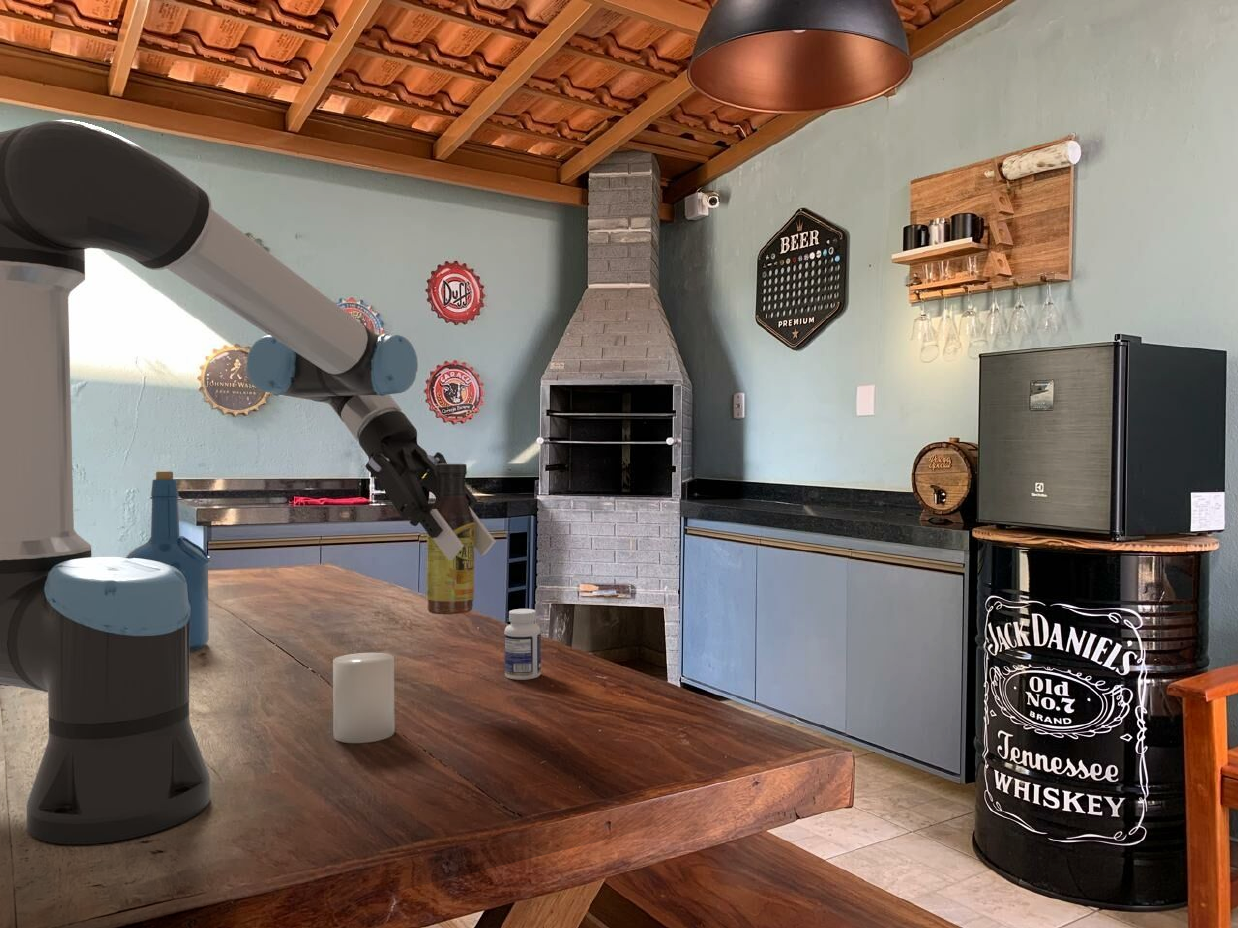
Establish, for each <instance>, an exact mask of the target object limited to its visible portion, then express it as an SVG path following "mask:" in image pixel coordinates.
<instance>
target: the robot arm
mask: <svg viewBox="0 0 1238 928" xmlns="http://www.w3.org/2000/svg"><path fill="white" fill-rule="evenodd" d="M212 206H213V205H212V201H211V198H210V196H209V193H208V192H206V191H205V190H204V189H203V188H201V187H200V186H199V185H197V184H196V183H195V182H194V181H193V180H191V179H190V178H189V177H187V175H185V174H183V173H182V172H181V171H179V170H178V169H176V168H175V167H174V166H172V165H171V164H169V163H167V162H166V161H164V160H163V159H161V158H160V157H159V156H157V155H156V154H153V153H152V152H150V151H148V150H147V149H145V148H143V147H142V146H140V145H138V144H137V143H134V142H132V141H130V140H128V139H126V138H125V137H122V136H121V135H118V134H115V133H114V132H111V131H109V130H106V129H104V128H102V127H99V126H95V125H93V124H88V123H85V122H83V121H81V122H80V121H75V120H69V119H56V120H54V119H53V120H51V119H50V120H44V121H39V122H36V123H33V124H30V125H27V126H22V127H17V128H12V129H8V130H4V131H0V686H4V687H14V688H15V687H16V688H20V689H21V688H23V689H28V690H33V691H34V690H35V691H40V692H47V697H48V699H47V701H48V706H47V707H48V708H47V709H48V710H47V711H48V714H47V715H48V739H47V744H46V747H45V750H44V751H43V752H44V753H43V755H42V758H41V762H40V764H39V768H38V770H37V773H36V776H35V779H34V782H33V783H32V788H31V790H30V793H29V796H28V798H27V803H26V830H27V832H28V834H29V835H30V836H32V837H33V838H34V839H37V840H39V841H42V842H47V843H52V844H59V845H90V844H91V845H92V844H102V843H105V844H106V843H112V842H118V841H124V840H130V839H135V838H138V837H143V836H146V835H151V834H154V833H158V832H160V831H164V830H166V829H170V828H172V827H175V826H177V825H179V824H182V823H184V822H186V821H188V820H190V819H191V818H194V817H195V816H197V814H199V813H200V812H202V811H203V810H204V809H205V808H206V807H207V806H208V804H209V802H210V800H211V781H210V775H209V774H210V772H209V770H208V768H207V765H206V762H205V759H204V757H203V755H202V752H201V748H200V746H199V744H198V742H197V741H198V740H197V738H196V736H195V733H194V730H193V728H192V725H191V722H190V721H191V720H190V657H191V656H190V654H191V653H190V652H191V651H190V612H191V608H190V605H189V602H188V593H187V583H186V579H185V577H184V576H183V574H182V573H181V572H180V571H179V570H178V569H176V568H175V567H173V566H171V565H168V564H165V563H162V562H158V561H153V560H147V559H140V558H130V559H129V558H126V557H121V556H96V557H95V556H94V557H93V556H92V544H90V543H89V542H87V541H86V540H85V539H84V538H83V537H82V536H80V534H78V533H77V531H76V530H75V527H74V526H75V525H74V487H73V485H74V484H73V477H74V476H73V446H72V445H73V440H72V437H73V436H72V406H71V404H72V401H71V400H72V399H71V397H72V395H71V393H72V392H71V363H70V362H71V357H70V321H69V320H70V319H69V311H70V310H69V297H70V295H71V292H72V291H74V289H76V288H77V287H78V286H79V285H81V284H82V283H83V282H84V281H85V280H86V267H85V266H86V252H85V250H87V249H100V250H106V251H110V252H114V253H118V254H121V255H124V256H125V257H128V258H130V259H132V260H134V261H136V262H137V263H138V264H140V265H141V266H143V267H145V268H147V269H149V270H152V271H161V270H165V269H166V270H168V271H170V272H171V273H173V274H174V275H175V276H177V277H179V278H180V279H182V280H184V281H185V282H187V283H189V284H190V285H192V286H193V287H194V288H196V289H198V290H199V291H200V292H202V293H204V295H205V294H206V295H207V296H208V297H210V298H211V299H213V300H214V301H216V302H217V303H219V304H221V305H222V306H223V307H225V308H227V309H229V310H230V311H231V312H233V313H234V314H236V315H238V316H239V317H241V319H244V320H245V321H247V322H248V323H250V324H252V325H253V326H254V327H256V328H257V329H259V330H260V331H262V332H264V333H265V334H267V335H265V336H262V337H260V338H258V339H257V340H256V341H255V342H254V343H253V345H252V346H251V348H250V349H249V352H248V354H247V357H246V374H247V377H248V379H249V381H250V383H251V385H253V386H254V387H255V388H256V389H257V390H259V391H261V392H266V393H269V394H272V395H274V396H277V397H278V396H285V397H290V398H291V397H292V398H296V399H297V398H298V399H303V400H310V401H313V402H319V403H325V404H328V405H329V406H330V407H331V408H332V409H333V411H334V412H335V414H336V415H337V416H338V417H339V418H340V420H341V421H342V423H344V425H345V426H346V428H347V429H348V430H349V432H350V433H351V434H352V436H353V438H354V439H355V441H356V442H358V444H359V447H360V448H361V449H362V450H363V452H364V453H365V454H366V456H367V457H368V459H369V460H368V461H367V463H366V464H365V465H364V466H365V469H366V470H368V472H369V473H370V474H371V475H372V476H373V477H374V478H375V479H376V480H377V482H378V484H379V485H380V487H381V488H382V489H383V491H384V493H385V494H386V495H387V497H388V499H389V501H390V502H391V503H392V505H393V506H394V508H395V510H396V511H397V513H398V514H399V516H400V517H401V518H402V519H404V520H408V519H409V518H411V519H410V521H409V524H410V525H411V526H414V527H417V526H418V525H419V524H420V525H421V526H422V528H423V529H424V530H425V532H426V533H428V535H429V536H430V537H432V539H433V540H434V541H435V543H436V544H437V545H438V547H439V548H440V549H441V551H442V552H443V554H444V555H445V556H446V558H447V559H448V560H453V558H454V557H455V556H456V555H457V554H458V553H459V551H460V550H461V549H462V548H463V547H464V545H463V544H462V543H461V541H460V540H459V539H458V537H457V536H456V535H455V533H454V532H453V531H452V529H451V528H450V526H449V525H448V524H447V522H446V521H445V520H444V518H443V517H442V516H441V514H440V513H439V512H438V510H437V509H432V511H431V512H430V510H431V507H430V504H429V502H428V499H427V497H426V495H425V493H424V490H423V489H422V487H425V488H426V489H427V490H428V491H430V492H431V493H432V494H433V495H434V497H436V499H437V498H438V496H437V474H436V464H448V463H447V460H446V459H445V456H444V455H443V453H441V452H436V453H435V454H434V455H429V454H428V453H427V451H426V450H425V449H423V448H422V447H421V446H420V445H419V444H418V432H417V429H416V427H415V426H414V425H413V424H412V422H411V421H410V419H409V418H408V417H407V415H406V414H405V413H404V412H402V408H401V407H400V406H399V405H398V403H397V402H396V401H395V399H394V398H393V397H392V396H391V395H396V394H397V395H398V394H402V393H404V392H407V391H408V390H409V389H410V388H411V387H412V385H413V384H414V382H415V381H416V376H417V372H418V356H417V352H416V350H415V348H414V346H413V345H412V343H411V342H410V341H409V339H407V337H404V336H403V335H399V334H390V333H383V334H377V333H375V332H374V331H372V330H371V329H369V328H368V327H367V326H365V325H364V324H362V323H361V322H360V321H359V320H358V319H356V318H355V317H354V316H352V315H351V314H350V313H349V312H347V311H345V310H344V309H343V308H342V307H341V306H339V305H338V304H337V303H336V302H334V301H332V300H331V299H330V298H328V297H327V296H326V295H324V294H323V293H322V292H321V291H319V289H317V288H316V287H314V286H313V285H312V284H311V283H309V282H308V281H307V280H305V279H304V278H302V277H301V276H300V275H299V274H298V273H296V272H295V271H293V270H292V269H291V268H289V266H287V265H285V264H284V263H283V262H282V261H280V260H279V259H278V258H276V257H275V256H274V255H272V254H271V253H269V251H267V250H266V249H265V248H263V247H262V246H261V245H259V244H258V243H257V242H256V241H254V240H253V239H252V238H251V237H249V236H247V235H246V234H245V233H243V232H242V231H241V230H239V228H238V227H236V226H235V225H233V224H232V223H231V222H229V221H228V220H227V219H226V218H224V217H223V216H222V215H220V214H218V212H217V211H215V210H214V209H212ZM465 492H466V499H467V502H468V505H469V508H470V511H471V514H472V516H473V519H474V523H475V535H474V549H476V551H477V552H478V553H479V554H480V556H484V555H486V554H487V553H488V552H489V551H490V549H491V548H492V547H493V546H494V545H495V543H496V542H497V541H496V539H495V538H494V537H493V535H492V534H491V533H490V532H489V530H488V529H487V527H486V526H485V525H484V523H483V522H482V521H481V520H480V518H479V517H478V515H477V514H476V512H474V510H473V508H474V506H475V505H476V504H477V503H478V499H477V498H476V496H475V495H474V494H473V493H472V492H471V491H470V489H469V488H468V487H467V486H466V485H465Z"/></svg>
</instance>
